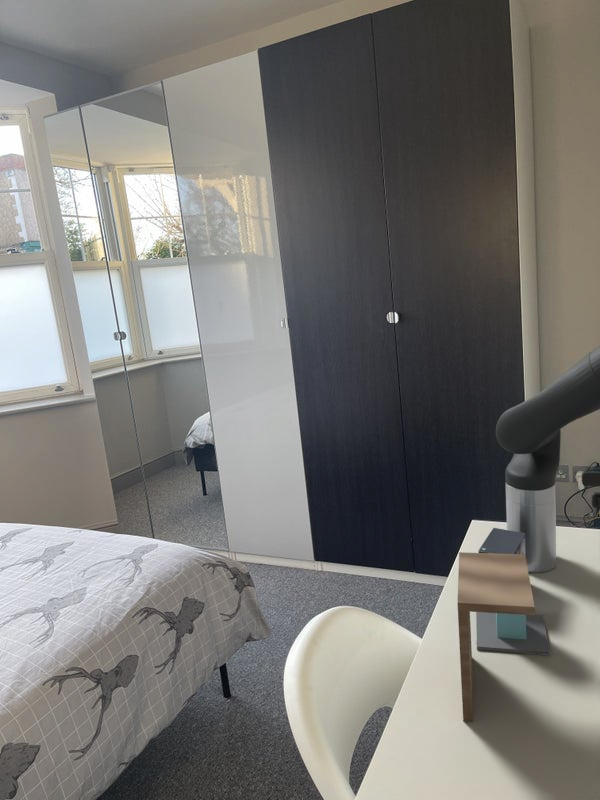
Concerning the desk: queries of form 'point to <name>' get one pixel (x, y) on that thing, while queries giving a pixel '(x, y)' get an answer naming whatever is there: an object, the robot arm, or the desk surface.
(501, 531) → the small box
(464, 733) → the desk surface
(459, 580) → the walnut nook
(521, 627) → the teal block
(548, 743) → the desk surface
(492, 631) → the rubber mat
